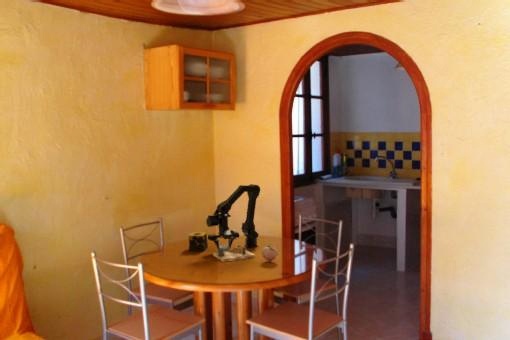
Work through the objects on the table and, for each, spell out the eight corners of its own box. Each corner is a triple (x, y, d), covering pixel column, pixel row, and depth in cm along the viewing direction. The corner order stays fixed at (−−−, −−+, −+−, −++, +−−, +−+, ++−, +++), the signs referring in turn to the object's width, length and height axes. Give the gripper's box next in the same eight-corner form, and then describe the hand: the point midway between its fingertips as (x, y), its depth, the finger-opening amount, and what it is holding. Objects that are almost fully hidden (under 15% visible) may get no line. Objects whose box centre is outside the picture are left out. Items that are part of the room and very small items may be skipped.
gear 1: (227, 249, 306) (227, 244, 306) (231, 252, 300) (231, 247, 300) (216, 250, 303) (216, 246, 303) (220, 253, 297) (220, 248, 297)
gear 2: (241, 249, 300) (240, 244, 299) (247, 251, 294) (247, 246, 294) (231, 251, 296) (231, 246, 295) (237, 253, 290) (237, 248, 290)
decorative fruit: (258, 261, 277) (258, 244, 276) (269, 259, 282) (269, 241, 281) (268, 265, 270) (268, 247, 269) (280, 262, 275) (279, 244, 274)
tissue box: (208, 247, 313) (207, 231, 312) (204, 251, 303) (204, 235, 302) (192, 247, 314) (191, 231, 313) (188, 251, 304) (188, 235, 303)
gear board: (244, 251, 301) (243, 243, 301) (254, 257, 287) (254, 248, 286) (213, 255, 293) (213, 247, 292) (222, 261, 278) (222, 253, 278)
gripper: (213, 228, 289) (214, 254, 290) (242, 225, 297) (243, 250, 298) (207, 225, 299) (207, 250, 300) (235, 222, 307) (236, 246, 308)
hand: (224, 249), depth 301 cm, fingers closed on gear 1, 7 cm apart
